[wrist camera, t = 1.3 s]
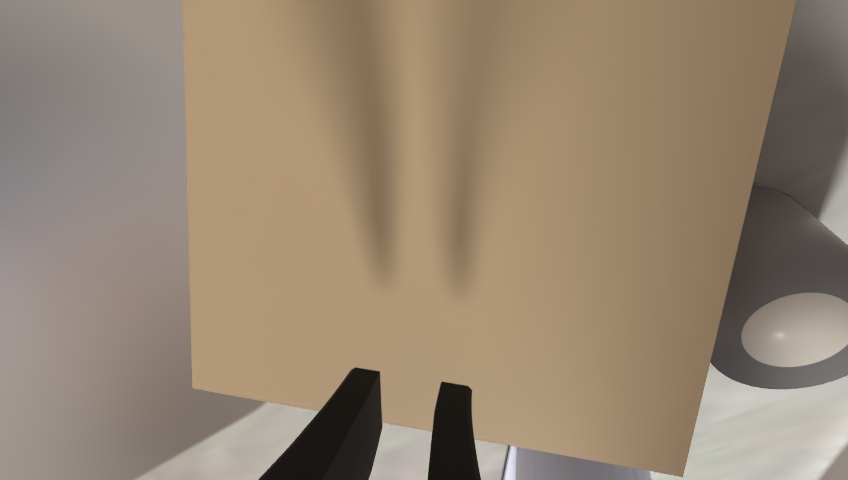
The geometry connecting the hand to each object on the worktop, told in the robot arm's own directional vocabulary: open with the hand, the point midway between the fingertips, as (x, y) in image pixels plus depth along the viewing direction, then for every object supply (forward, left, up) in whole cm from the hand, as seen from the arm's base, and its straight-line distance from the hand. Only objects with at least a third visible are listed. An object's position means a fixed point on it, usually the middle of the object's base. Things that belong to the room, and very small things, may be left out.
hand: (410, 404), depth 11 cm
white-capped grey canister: (0, -11, -10) cm, 15 cm away
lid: (+4, 0, -4) cm, 5 cm away
